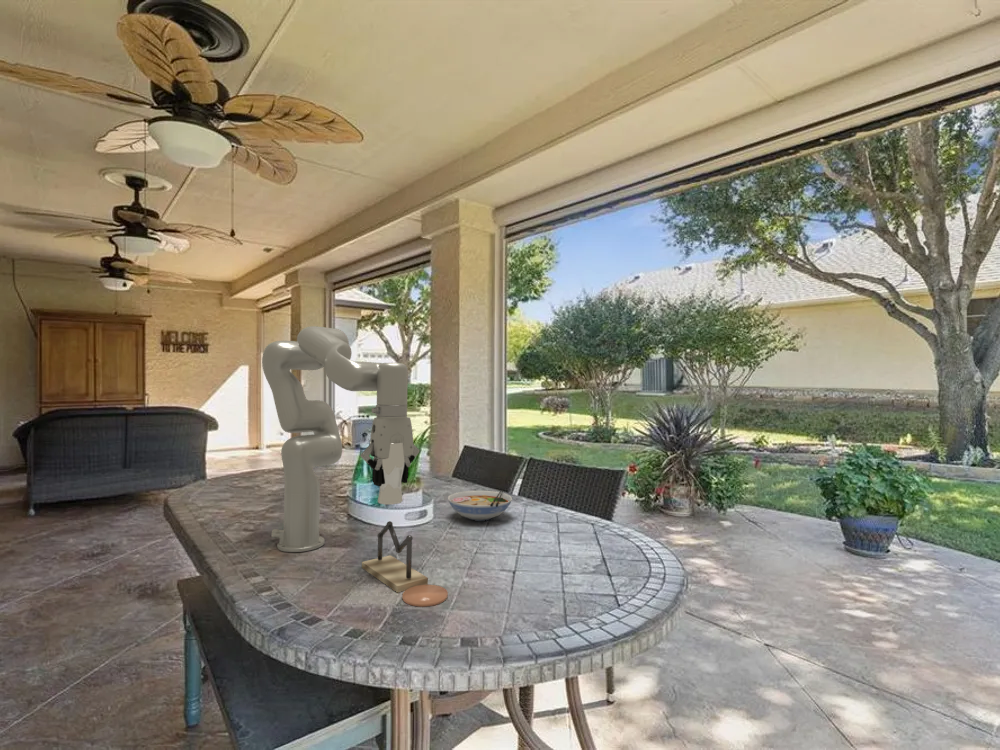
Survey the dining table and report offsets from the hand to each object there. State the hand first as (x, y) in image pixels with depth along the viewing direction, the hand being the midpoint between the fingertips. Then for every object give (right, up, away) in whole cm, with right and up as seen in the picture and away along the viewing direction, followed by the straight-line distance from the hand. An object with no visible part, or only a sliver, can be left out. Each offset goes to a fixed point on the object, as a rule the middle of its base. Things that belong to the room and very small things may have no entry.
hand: (390, 483), depth 125 cm
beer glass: (0, -5, 0) cm, 5 cm away
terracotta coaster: (+11, -22, -14) cm, 28 cm away
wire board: (+1, -22, -2) cm, 22 cm away
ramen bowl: (+20, -24, +50) cm, 59 cm away
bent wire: (+1, -21, -2) cm, 21 cm away
